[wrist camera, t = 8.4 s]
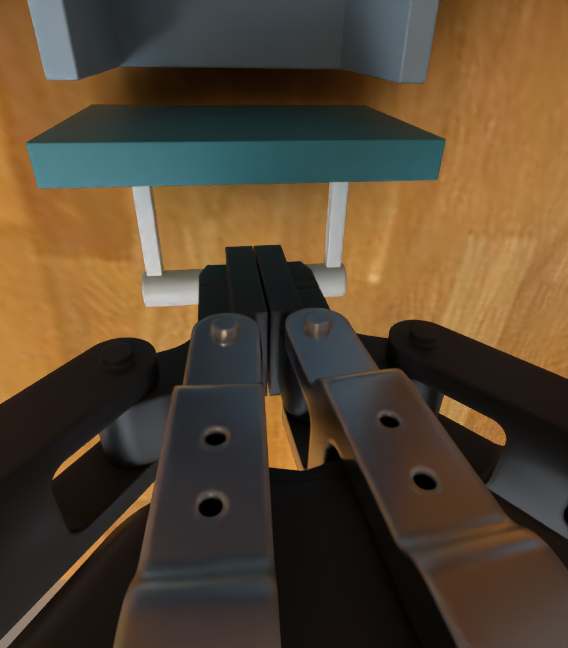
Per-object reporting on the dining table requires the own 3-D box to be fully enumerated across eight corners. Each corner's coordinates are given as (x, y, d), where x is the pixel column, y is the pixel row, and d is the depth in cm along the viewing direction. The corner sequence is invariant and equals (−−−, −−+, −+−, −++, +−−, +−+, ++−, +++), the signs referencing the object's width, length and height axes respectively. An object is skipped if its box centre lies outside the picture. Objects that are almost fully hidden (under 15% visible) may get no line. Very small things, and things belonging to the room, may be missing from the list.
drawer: (350, 247, 23) (407, 329, 17) (120, 256, 22) (83, 351, 15) (416, -369, 13) (637, -795, 6) (-15, -435, 11) (-321, -1091, 5)
